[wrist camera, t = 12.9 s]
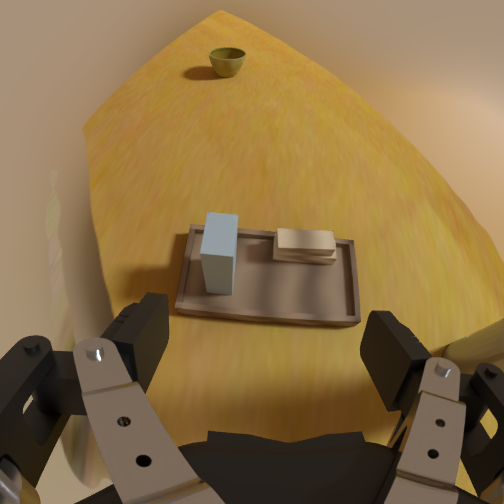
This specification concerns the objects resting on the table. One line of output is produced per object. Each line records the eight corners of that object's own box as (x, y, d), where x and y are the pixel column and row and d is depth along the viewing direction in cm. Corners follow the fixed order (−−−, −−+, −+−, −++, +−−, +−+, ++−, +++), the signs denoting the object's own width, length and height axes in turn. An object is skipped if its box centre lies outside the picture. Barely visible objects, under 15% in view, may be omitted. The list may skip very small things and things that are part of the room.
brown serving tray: (348, 248, 46) (353, 240, 44) (354, 326, 40) (360, 321, 38) (192, 233, 45) (190, 224, 43) (177, 313, 39) (174, 307, 37)
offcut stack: (331, 246, 44) (339, 232, 41) (332, 266, 42) (341, 253, 39) (273, 240, 44) (277, 225, 40) (272, 261, 42) (276, 247, 39)
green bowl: (250, 78, 71) (252, 56, 65) (217, 84, 68) (217, 61, 62) (235, 65, 75) (236, 45, 69) (204, 71, 73) (203, 50, 66)
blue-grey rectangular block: (235, 261, 42) (238, 215, 32) (232, 295, 39) (233, 256, 30) (212, 258, 42) (207, 212, 32) (206, 292, 39) (199, 253, 30)
